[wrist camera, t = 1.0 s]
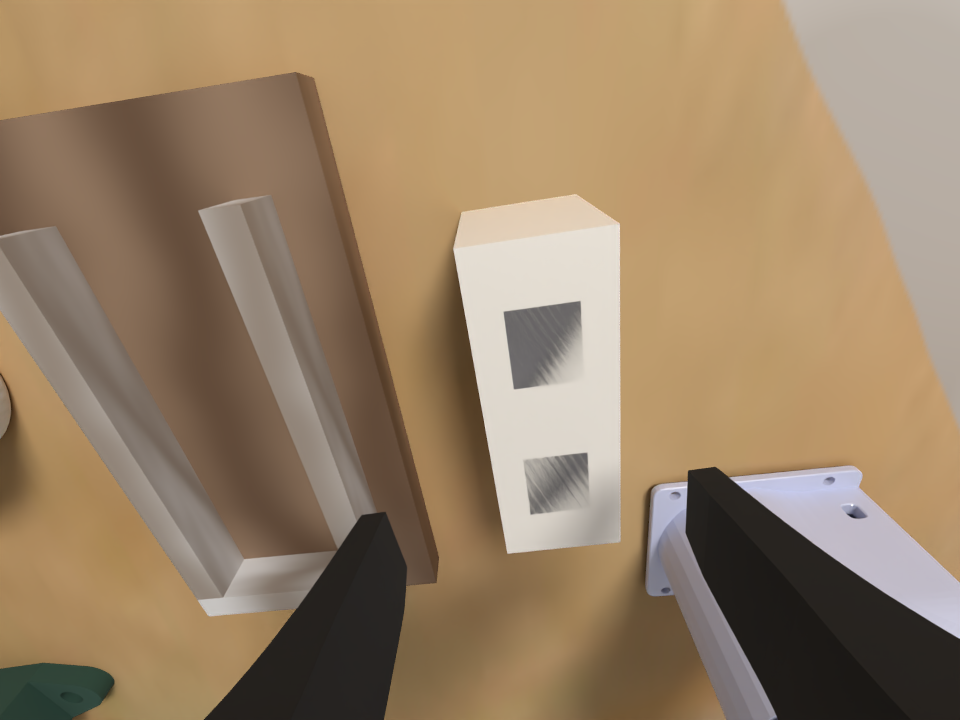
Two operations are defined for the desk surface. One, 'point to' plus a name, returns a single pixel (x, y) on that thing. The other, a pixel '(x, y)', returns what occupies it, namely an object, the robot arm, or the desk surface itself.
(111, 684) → the mount
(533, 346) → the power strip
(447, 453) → the desk surface
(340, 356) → the cradle
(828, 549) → the robot arm
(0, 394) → the ramekin
